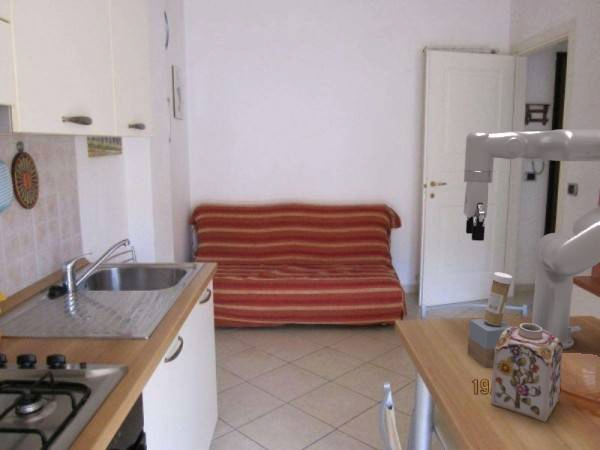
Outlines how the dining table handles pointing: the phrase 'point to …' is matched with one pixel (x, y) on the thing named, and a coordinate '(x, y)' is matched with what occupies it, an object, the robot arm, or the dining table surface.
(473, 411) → the dining table surface
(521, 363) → the decorative jar
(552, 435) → the dining table surface
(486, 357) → the walnut base block
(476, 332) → the slate top block
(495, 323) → the sprinkles bottle
